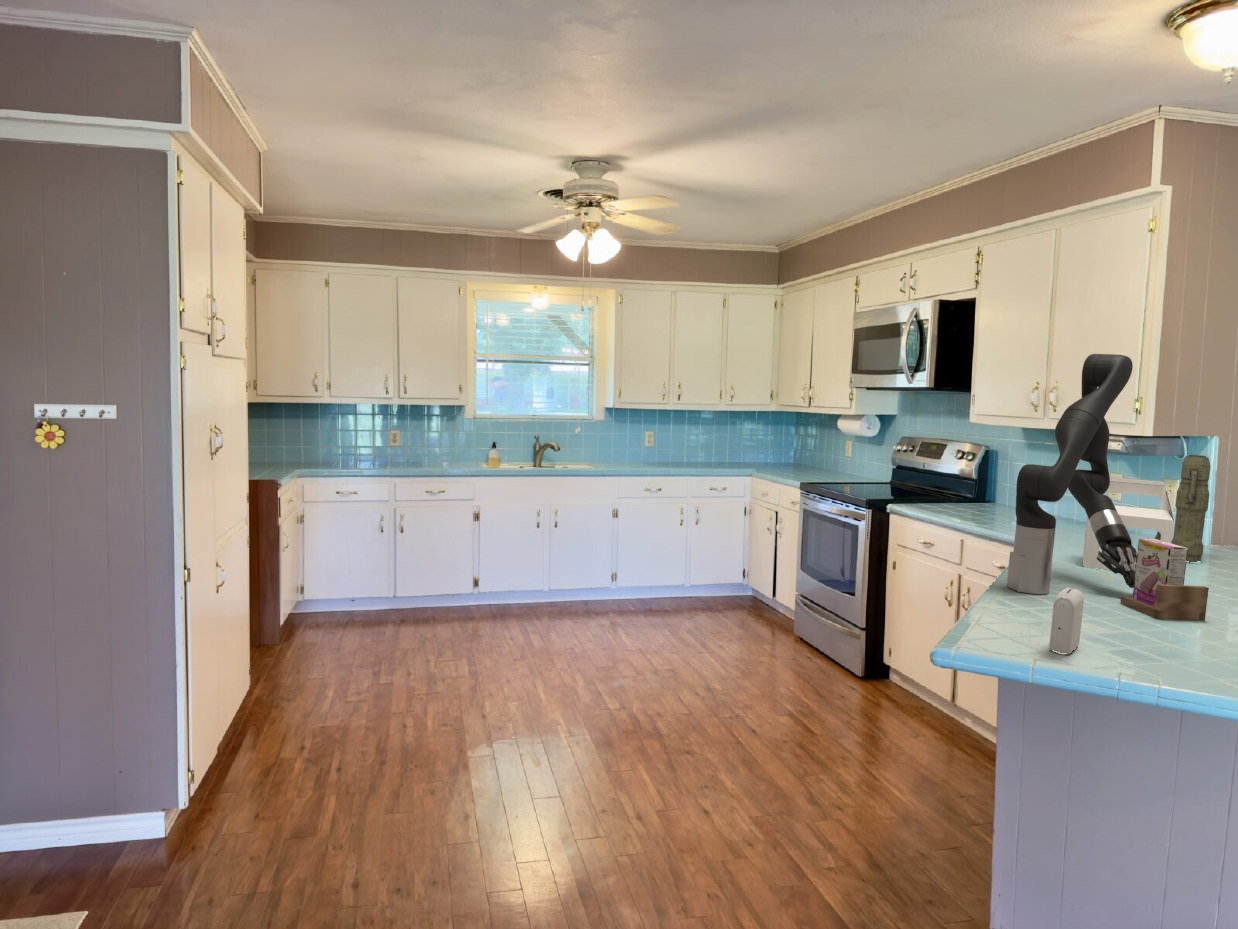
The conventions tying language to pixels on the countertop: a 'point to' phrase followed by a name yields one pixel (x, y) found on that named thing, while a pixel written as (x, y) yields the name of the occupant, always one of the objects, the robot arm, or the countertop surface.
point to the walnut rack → (1174, 602)
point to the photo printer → (1066, 621)
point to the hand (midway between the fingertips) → (1134, 586)
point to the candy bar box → (1157, 568)
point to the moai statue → (1192, 505)
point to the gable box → (1134, 516)
